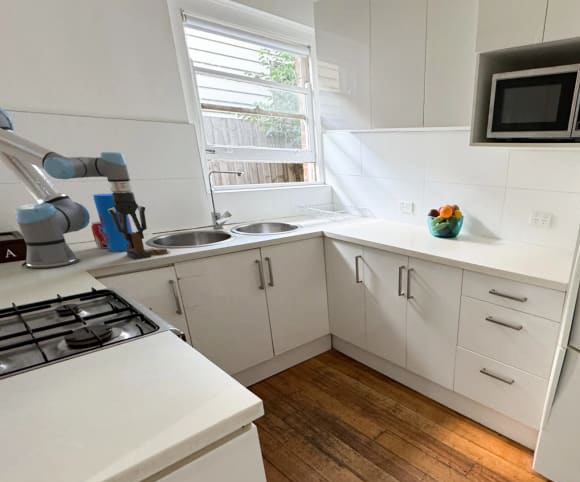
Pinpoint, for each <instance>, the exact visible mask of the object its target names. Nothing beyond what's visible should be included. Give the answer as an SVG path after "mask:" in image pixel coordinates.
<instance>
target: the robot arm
mask: <svg viewBox="0 0 580 482" xmlns="http://www.w3.org/2000/svg"><path fill="white" fill-rule="evenodd" d="M13 124H14V121H13V120H12V118H11V116H10V115H9V114H8V113H7V112H6V111H5V110H4V109H3V108H1V107H0V161H1V162H2V163H3V164H4V165H5V167H6V168H7V169H8V170H9V171H10V173H12V175H13V176H14V177H15V178H16V180H18V181H19V182H20V183H21V185H22V186H23V187H24V188H25V190H26V191H27V192H28V193H29V194H30V195H31V196H32V198H33V199H34V200H35V201H36V202H37V203H36V202H35V203H31V204H30V203H29V204H23V205H20V206H18V207H16V208H15V210H14V215H15V219H16V222H17V224H18V227H19V229H20V232H21V234H22V238H23V240H24V242H25V245H26V260H25V261H24V262H23V263H22V264H21V266H22V267H25V266H27V267H28V268H29V269H52V268H60V267H64V266H65V267H66V266H69V265H72V264H75V263H77V262H79V261H78V257H77V255H76V254H75V253H74V251H73V250H72V249H75V248H74V247H73V248H72V249H71V248H70V246H69V245H68V244H67V243H66V239H65V236H64V235H65V234H70V233H74V232H79V231H80V230H84V229H85V228H86V227H88V225H89V224H90V219H91V216H90V212H89V211H88V209H87V208H86V206H84V205H83V204H81V203H78V202H76V201H73V200H72V199H71V197H69V195H68V194H64V193H61V192H60V191H59V190H58V188H57V187H56V186H55V184H54V183H53V182H52V181H51V180H50V179H49V177H48V176H47V175H46V174H48V175H49V176H50V177H52V178H54V179H57V180H70V179H82V178H84V179H85V178H106V179H107V182H108V186H109V189H110V190H109V191H110V192H111V193H112V197H113V201H114V207H113V208H111V209H108V212H109V213H110V214H111V216H112V219H113V221H114V224H115V226H116V229H117V231H118V232H120V233H123V234H124V237H125V240H126V241H128V242H129V245H130V248H134V246H133V242H132V239H131V234H130V233H128V229H127V215H128V216H129V215H130V217H131V219H132V221H133V223H134V226H135V227H136V231H135V233H138V234H140V236H141V239H142V240H143V239H145V236H144V231H146V230H147V229H148V227H147V221H146V214H145V212H146V207H145V206H141V205H139V204H138V203H137V201H136V198H135V194H134V192H133V191H134V190H133V189H134V188H133V186H132V183H131V179H130V175H129V174H130V173H129V171H128V167H127V166H128V165H127V162H126V160H125V159H126V158H125V156H124V154H123V152H113V151H111V152H109V151H107V152H106V151H105V152H104V151H102V152H100V156H99V157H94V156H91V157H90V156H75V157H72V156H68V157H67V156H64V155H62V154H59V153H57V152H55V151H53V150H51V149H49V148H46V147H44V146H42V145H39V144H38V143H35V142H33V141H31V140H29V139H26V138H24V137H22V136H19V135H17V134H16V132H15V131H14V127H15V126H14V125H13ZM43 170H44V171H45V172H46V174H45V172H43ZM115 210H117V211H118V212H120V214H121V220H122V229H121V226H120V223H119V221H118V218H117V216H116V214H115V213H116V211H115ZM137 210H138V212H139V219H140V221H139V219H138V217H137V214H136V212H137ZM142 243H143V247H144V241H142Z"/></svg>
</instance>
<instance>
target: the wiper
mask: <svg viewBox="0 0 580 482" xmlns="http://www.w3.org/2000/svg"><path fill="white" fill-rule="evenodd" d="M130 234H131V239H132V242H133V246H134V248H131V250H128V251H126V254H127V256H128V257H130V258H131V259H135V260H139V259H145V258H151V257H152V255H150V252H148V251H146V250H144V249H145V248H144V247H143V245H144V242H143V239H141V236H140V234H138V233H136V231H132V233H130ZM142 242H143V243H142Z"/></svg>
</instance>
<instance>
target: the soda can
mask: <svg viewBox="0 0 580 482" xmlns="http://www.w3.org/2000/svg"><path fill="white" fill-rule="evenodd" d="M90 227H91V232H92V235H93V238H94V241H95V244H96V247H97V248H98V249H102V250H103V249H105V250H106V249H109V248H108V246H107V243H106V239H105V236H104V233H103V229H102V226H101V222H100V220H99V221H92V222H91V226H90Z"/></svg>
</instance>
